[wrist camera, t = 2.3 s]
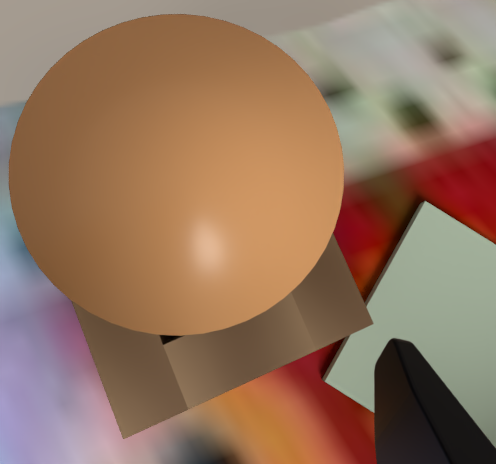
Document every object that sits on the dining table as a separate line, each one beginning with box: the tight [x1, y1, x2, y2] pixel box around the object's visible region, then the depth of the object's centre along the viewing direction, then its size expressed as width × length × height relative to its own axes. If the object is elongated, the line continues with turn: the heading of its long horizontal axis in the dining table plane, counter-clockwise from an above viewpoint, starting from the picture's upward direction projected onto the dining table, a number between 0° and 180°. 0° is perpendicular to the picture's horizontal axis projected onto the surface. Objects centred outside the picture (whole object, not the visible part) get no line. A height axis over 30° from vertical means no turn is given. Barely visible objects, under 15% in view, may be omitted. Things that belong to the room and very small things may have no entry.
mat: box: [322, 201, 496, 448], centre depth 19 cm, size 9×9×1 cm
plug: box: [9, 14, 344, 336], centre depth 12 cm, size 4×4×14 cm
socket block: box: [71, 233, 374, 439], centre depth 17 cm, size 9×9×4 cm
